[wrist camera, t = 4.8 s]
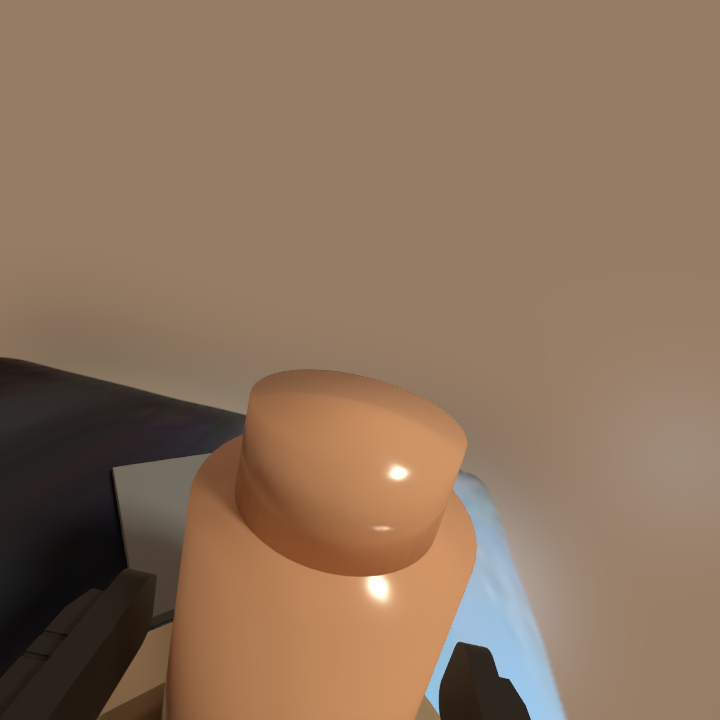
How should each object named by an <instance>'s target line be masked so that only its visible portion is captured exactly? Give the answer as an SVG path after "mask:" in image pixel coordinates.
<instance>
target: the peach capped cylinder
mask: <svg viewBox="0 0 720 720" xmlns="http://www.w3.org/2000/svg"><path fill="white" fill-rule="evenodd" d="M466 448H467V440H466V436H465V434H464V432H463V430H462V429H461V427H460V426H459V424H458V423H457V422H456V421H455V420H454V419H453V418H452V417H450V416H449V415H448V414H447V413H446V412H444V411H443V410H442V409H440V408H439V407H437V406H436V405H434V404H433V403H431V402H429V401H427V400H425V399H424V398H422V397H420V396H418V395H416V394H414V393H411V392H409V391H407V390H404V389H402V388H399V387H397V386H394V385H391V384H388V383H385V382H382V381H379V380H375V379H371V378H368V377H364V376H359V375H355V374H350V373H344V372H337V371H327V370H311V369H308V370H307V369H306V370H290V371H283V372H279V373H275V374H272V375H269V376H266V377H264V378H262V379H261V380H259V381H258V382H257V383H256V384H255V385H254V386H253V387H252V390H251V393H250V398H249V403H248V409H247V416H246V422H245V428H244V434H243V435H241V436H238V437H236V438H234V439H232V440H230V441H229V442H227V443H225V444H223V445H222V446H221V447H219V448H218V449H217V450H215V451H214V452H213V453H212V454H211V455H210V456H209V457H208V458H207V459H206V460H205V461H204V463H203V464H202V465H201V467H200V468H199V469H198V471H197V473H196V475H195V478H194V480H193V482H192V486H191V490H190V494H189V502H188V510H187V518H186V526H185V533H184V541H183V549H182V557H181V565H180V572H179V580H178V588H177V596H176V604H175V611H174V619H173V627H172V635H171V643H170V650H169V658H168V666H167V674H166V682H165V689H164V697H163V705H162V713H161V720H415V718H416V715H417V712H418V710H419V707H420V705H421V702H422V700H423V697H424V695H425V692H426V689H427V687H428V684H429V682H430V679H431V677H432V674H433V671H434V669H435V666H436V664H437V661H438V659H439V656H440V653H441V651H442V648H443V646H444V643H445V641H446V638H447V635H448V633H449V630H450V628H451V625H452V623H453V620H454V617H455V615H456V612H457V610H458V607H459V605H460V602H461V599H462V597H463V594H464V592H465V589H466V587H467V584H468V582H469V579H470V576H471V574H472V571H473V567H474V564H475V560H476V548H477V544H476V536H475V531H474V527H473V524H472V521H471V518H470V516H469V514H468V512H467V510H466V508H465V506H464V505H463V503H462V502H461V500H460V499H459V497H458V496H457V495H456V493H455V492H454V491H453V490H452V489H453V486H454V484H455V481H456V478H457V475H458V472H459V469H460V466H461V463H462V460H463V457H464V455H465V451H466Z"/></svg>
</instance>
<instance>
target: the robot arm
mask: <svg viewBox="0 0 720 720" xmlns="http://www.w3.org/2000/svg"><path fill="white" fill-rule="evenodd" d="M156 583H157V576H156V574H152V573H147V572H142V571H138V570H133V569H129V568H126V569H124V570H123V571H122V572H121V573H120V574H119V575H118V576H117V577H116V578H115V579H114V581H113V582H112V583H111V584H110V585H109V587H108V588H107V589H106V590H105V591H103V590H99V589H94V588H92V589H90V590H89V591H87V592H86V593H85V594H83V595H82V596H80V597H79V598H77V599H76V600H74V601H73V602H71V603H70V604H68V605H67V606H66V607H65V608H64V609H63V610H62V611H61V612H60V613H59V614H58V615H57V617H56V618H55V619H54V620H53V621H52V622H51V623H50V624H49V625H48V626H47V628H46V629H45V630H44V632H43V634H42V635H39V636H38V637H37V639H36V640H35V641H34V642H33V643H32V644H31V645H30V646H29V647H28V648H27V650H26V651H25V653H24V655H23V656H20V657H19V658H18V659H17V661H16V662H15V663H14V664H13V665H12V666H11V667H10V668H9V669H8V670H7V672H6V673H5V674H4V675H3V676H2V677H1V678H0V720H97V718H98V717H99V715H100V713H101V712H102V710H103V708H104V707H105V705H106V703H107V702H108V700H109V699H110V697H111V695H112V694H113V692H114V690H115V689H116V687H117V685H118V684H119V682H120V681H121V679H122V677H123V676H124V674H125V672H126V671H127V669H128V667H129V666H130V664H131V662H132V661H133V659H134V658H135V656H136V654H137V653H138V651H139V649H140V648H141V646H142V644H143V642H144V640H145V638H146V636H147V633H148V631H149V628H150V625H151V621H152V617H153V608H154V600H155V591H156ZM439 712H440V719H441V720H531V719H530V716H529V713H528V711H527V708H526V705H525V704H524V702H523V701H522V699H521V697H520V696H519V694H518V693H517V691H516V689H515V688H514V686H513V685H512V683H511V682H510V680H509V679H506V678H501V677H499V675H498V672H497V669H496V666H495V662H494V659H493V656H492V654H491V652H490V651H489V649H488V648H486V647H481V646H477V645H472V644H467V643H463V642H458V643H457V644H456V646H455V648H454V651H453V653H452V656H451V658H450V661H449V663H448V665H447V668H446V670H445V673H444V675H443V678H442V680H441V684H440V689H439Z"/></svg>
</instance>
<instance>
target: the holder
mask: <svg viewBox="0 0 720 720" xmlns="http://www.w3.org/2000/svg"><path fill="white" fill-rule="evenodd" d="M172 627H173V622H171V623H168V624H166V625H164V626H161V627H159V628H156V629H154V630H152V631H149V632H148V633H147V636H146V638H145V640H144V642H143V644H142V646H141V648H140V649H139V651H138V653H137V654H136V656H135V658H134V659H133V661H132V662H131V664H130V666H129V667H128V669H127V671H126V672H125V674H124V676H123V677H122V679H121V681H120V682H119V684H118V685H117V687H116V689H115V690H114V692H113V694H112V695H111V697H110V699H109V700H108V702H107V703H106V705H105V707H104V708H103V710H102V712H101V713H100V715H99V717H98V718H97V720H161V713H162V705H163V697H164V689H165V682H166V674H167V666H168V658H169V650H170V643H171V635H172ZM415 720H441V719H440V716H439V714H438V713H437V711H436V710H435V709H434V707H433V706H432V705H431V703H430V702H429V700H428V699H427V698H426V696H425V695H424V697H423V700H422V702H421V705H420V707H419V710H418V712H417V715H416V718H415Z"/></svg>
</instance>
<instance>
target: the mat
mask: <svg viewBox="0 0 720 720" xmlns="http://www.w3.org/2000/svg"><path fill="white" fill-rule="evenodd" d="M211 454H212V453H210V454H203V455H196V456H189V457H182V458H175V459H168V460H162V461H155V462H148V463H141V464H134V465H127V466H120V467H114V468H113V481H114V487H115V494H116V500H117V506H118V512H119V518H120V524H121V530H122V536H123V542H124V548H125V554H126V560H127V566H128V568H129V569H133V570H138V571H142V572H147V573H152V574H156V576H157V583H156V591H155V600H154V608H153V617H152V621H151V625H150V628H151V627H154V626H156V625H158V624H161V623H163V622H166V621H168V620H170V619H173V618H174V611H175V604H176V596H177V588H178V580H179V572H180V565H181V557H182V549H183V541H184V533H185V526H186V518H187V510H188V502H189V494H190V490H191V486H192V482H193V480H194V478H195V475H196V473H197V471H198V469H199V468H200V467H201V465H202V464H203V463H204V461H205V460H206V459H207V458H208V457H209V456H210V455H211Z"/></svg>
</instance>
